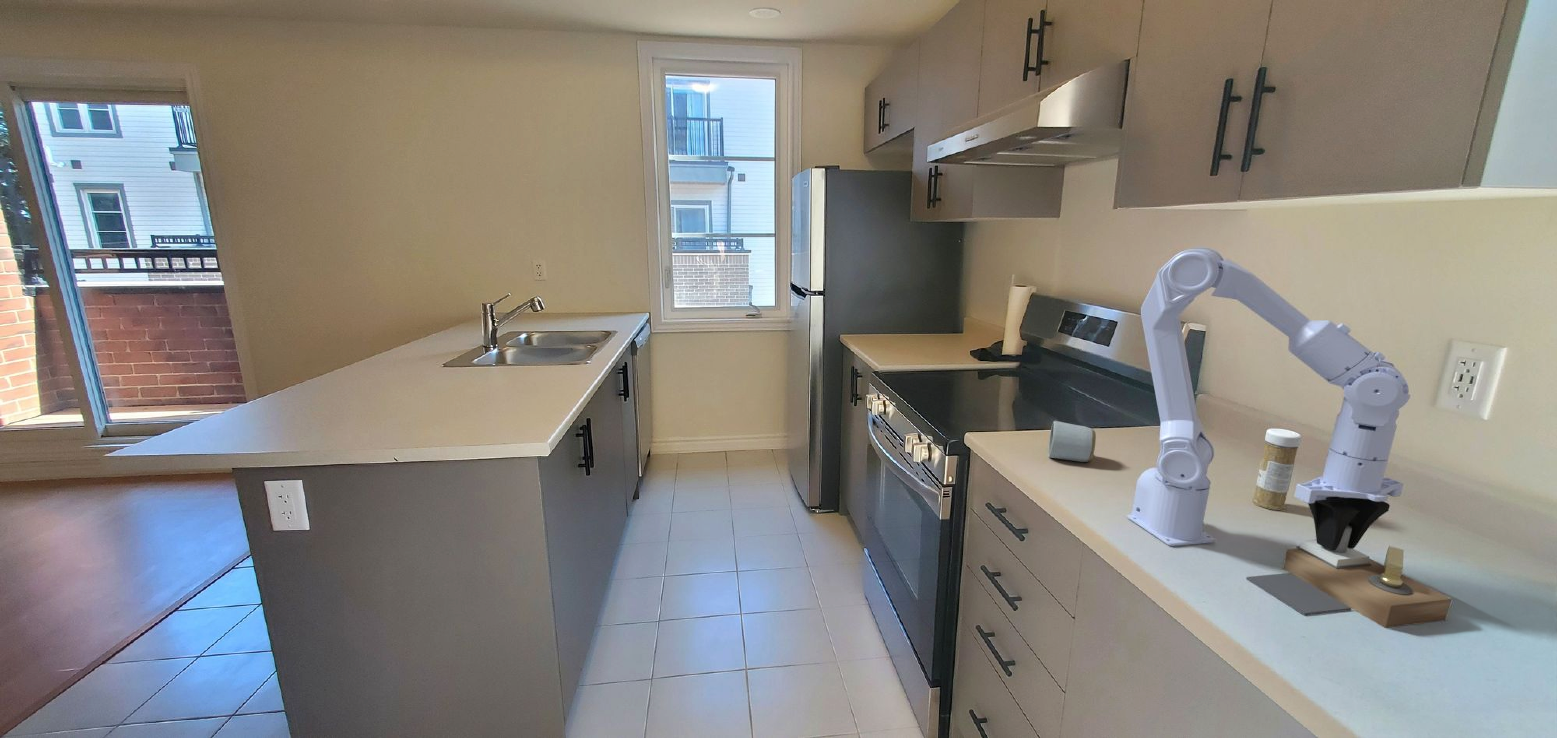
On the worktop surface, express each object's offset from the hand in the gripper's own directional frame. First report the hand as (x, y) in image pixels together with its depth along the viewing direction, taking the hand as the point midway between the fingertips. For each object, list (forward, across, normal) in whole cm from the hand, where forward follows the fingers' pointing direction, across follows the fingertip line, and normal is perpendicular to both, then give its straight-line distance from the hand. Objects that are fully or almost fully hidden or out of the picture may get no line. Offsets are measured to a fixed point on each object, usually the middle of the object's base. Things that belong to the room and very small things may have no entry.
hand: (1335, 545), depth 83 cm
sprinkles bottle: (+5, +12, +20) cm, 24 cm away
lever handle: (+1, +2, -6) cm, 6 cm away
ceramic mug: (+5, -9, +46) cm, 47 cm away
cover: (+1, 0, 0) cm, 1 cm away
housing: (+5, 0, -4) cm, 6 cm away
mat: (+5, -8, -3) cm, 10 cm away
